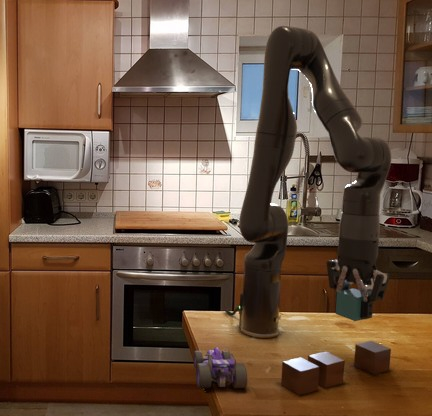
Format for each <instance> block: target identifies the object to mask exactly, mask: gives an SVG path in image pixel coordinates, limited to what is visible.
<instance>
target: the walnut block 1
mask: <svg viewBox="0 0 432 416" xmlns="http://www.w3.org/2000/svg"><path fill="white" fill-rule="evenodd" d="M318 382H319V366H317V365H315V364H313V363H311V362H309V361H308V359H305V358H303V357H301V356H299V357H296V358H291V359H287V360H283V361H282V363H281V382H280V385H281V386H283V387H285V388H286V389H288V390H290V391H291V392H292V393H295V394H296V395H298V396H302V395H306V394H309V393H313V392H318V391H319V384H318Z"/></svg>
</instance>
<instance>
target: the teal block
mask: <svg viewBox="0 0 432 416" xmlns="http://www.w3.org/2000/svg"><path fill="white" fill-rule="evenodd" d="M367 294H368V293H367ZM361 301H363V300H362V297H361V293H360V291H359V290H358V288H349V289H347V290H342V291H337V292H336V299H335V315H337V316H339V317H343V318H345V319H348V320H351V321H353V322H358V321H364V319H361V318H360V314H361ZM373 311H374V310H373ZM373 311H372V313H373ZM372 318H373V315H372V316H371V317H370V318H369V319H372Z"/></svg>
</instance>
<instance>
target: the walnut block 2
mask: <svg viewBox="0 0 432 416" xmlns="http://www.w3.org/2000/svg"><path fill="white" fill-rule="evenodd" d="M307 361H309V362H311V363H313V364H315V365H317V366H319V382H318V386H320V387H322V388H324V389H328V388H331V387H335V386H339V385H342V384H344V375H345V374H344V373H345V360H344V359H343V358H340V357H339V356H336V355H334V354H333V353H331V352H328V351H321V352H316V353H312V354H308V355H307Z"/></svg>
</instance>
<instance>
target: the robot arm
mask: <svg viewBox="0 0 432 416" xmlns="http://www.w3.org/2000/svg"><path fill="white" fill-rule="evenodd" d="M291 70H292V71H293V70H294V71H299V72H300V73H301V74H302V75H303V76H304V77H305V79H306V80H307V81H308V83H309V84H310V87H311V98H312V99H311V100H312V101H311V103H312V107H313V110H314V113H315V114H316V117H317V119H318V120H319V121H320V124H321V125H322V126H323V128H324V129H325V131H326V132H327V134H328V137H329V142H330V146H331V149H332V153H333V156H334V159H335V161H336V163H337V164H338V165H339V166H340V167H341V169H343V170H344V171H346V172H348V173H354V174H355V173H356V174H357V175H356V178H355V181H354V182H352V183H350V184H347V185H346V186H345V187H344V188H343V190H342V199H341V215H340V219H339V226H338V244H337V245H338V246H337V255H338V256H339V258H338V259H331V260H327V261H326V271H327V277H328V284H329V288H330V289H333V290H335V292H336V293H337V291H342V290H347V289H351V286H352V285H353V284H354V285H356V287H357V288H356V289H357V290H359V291H360V293H361V297H362V300H363V301H361V314H360V318H361V319H364V320H368V319H371V318H370V317H371V316H372V317H373V312H372V311H374V302H378V301H383V300H384V297H385V295H386V291H387V288H388V284H389V282H390V278H391V275H390V273H388V272H382V271H380V270H378V267H377V264H376V261H377V259H378V258H379V246H380V245H379V244H380V229H381V221H380V212H381V211H380V210H381V194H382V191H383V189H384V187H385V183H386V181H387V177H388V174H389V171H390V169H391V165H392V151H391V147H390V145H389V142H387V141H386V140H385V139H384V138H381V137H377V136H369V137H367V136H364V137H363V136H362V137H361V136H360V135H359V133H358V132H359V131H360V129H361V128H362V126H363V119H362V117H361V114H360V112H358V110H357V108H356V107H355V106H354V104H353V102H352V101H351V99H350V98H349V97H348V95H347V94H346V93H345V91H344V90H343V88H342V86H341V85H340V82H339V81H338V78H337V77H336V74H335V72H334V70H333V67H332V65H331V63H330V61H329V59H328V57H327V53H326V52H325V49H324V46H323V44H322V42H321V40H320V38H319V37H318V35H317V33H315V32H314V31H313V30H310V29H307V28H301V27H297V26H296V27H295V26H289V25H279V26H277V27H275V28H274V29H273V30H272V31H271V33H270V34H269V36H268V38H267V41H266V45H265V49H264V59H263V75H262V77H263V78H262V91H261V100H260V108H259V116H258V122H257V126H256V131H255V138H254V144H253V145H254V146H253V152H252V153H253V154H252V160H251V165H250V170H249V177H248V182H247V187H246V191H245V194H244V198H243V202H242V206H241V208H240V209H241V210H240V213H239V214H240V215H239V221H238V224H239V225H238V226H239V227H238V228H239V232H240V234H241V236H242V238H243V240H245V241H247V242H248V243H252V244H254V245H253V247H252V248H251V249H250V250H249V251H248V252H247V253H246V254H245V255H244V258H243V279H242V291H241V292H240V294H239V297H240V298H239V304H238V307H236V308H234V310H233V311H232V312H231V311H230V310H229V309H227V308H225V309H224V312H225V313H227V314H228V315H229V316H235V315H236V314H237V312H238V316H239V317H238V328H239V329H240V332H241V333H243V334H244V335H247V336H249V337H253V338H258V339H269V338H270V339H271V338H275V337H277V336H278V335H279V334H280V333H279V323H280V320H281V319H282V315H280V307H281V305H280V303H281V283H282V265H283V261H284V260H285V257H286V254H287V243H288V234H289V220H288V215H287V213H286V211H285V209H284V208H283V207H282V206H280V205H279V204H276V203H272V201H273V195H274V191H275V188H276V186H277V184H278V182H279V180H280V179H281V177H282V176H283V174H284V172H285V171H286V169H287V167H288V166H289V164H290V161H291V160H292V157H293V155H294V151H295V145H296V140H297V133H298V124H297V119H296V115H295V112H294V109H293V106H292V104H291V100H290V96H289V84H290V83H289V82H290V73H291ZM367 293H368V294H367ZM364 320H363V321H364Z"/></svg>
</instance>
